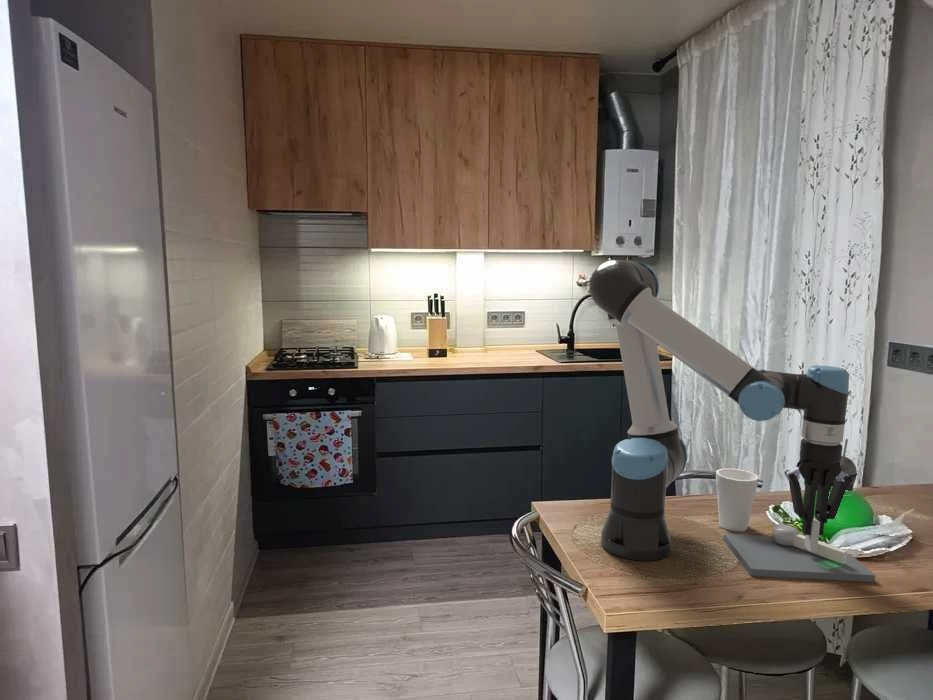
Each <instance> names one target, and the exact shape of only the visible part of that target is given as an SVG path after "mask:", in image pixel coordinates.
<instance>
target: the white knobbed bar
mask: <svg viewBox="0 0 933 700" xmlns="http://www.w3.org/2000/svg"><path fill="white" fill-rule="evenodd" d="M771 533H772V534H771V536H772V540H773V541H774V542H776V543H779V544H782V545H787V546H796V547H798V548H801V549H804V550H806V551H809V550H808V549H807V548H806V547H805V536H806V535H805V534H804V535H803V534H800V533H799V530H798V529H797V528H796V527H794V526H791V525H788V524H781V523H780V524H779V523H777V524H774V525H772V532H771ZM809 552H810V551H809ZM847 552H848V550H846V549H845V550H843V549H840V548H838V547H835V546H832V545H829V544H826V543H823V542H821V541H818V548H817V552H812V553H815V554H817V555H820V556H823V557H825V558H828V559H831V560H833V561H836V562H839V563H841V564H843V563H845V562H846V557H847Z"/></svg>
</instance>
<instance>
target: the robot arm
mask: <svg viewBox="0 0 933 700" xmlns="http://www.w3.org/2000/svg"><path fill="white" fill-rule="evenodd" d="M588 288H589V293H590V297H591V298H592V301H593V303H595V304H596V305H597V306H598V307H599V308H600V309H601V310H603V311H604V312H605V313H607V318H608V319H607V320H608V321H609V323H611V324H612V325H614V326H615V327H616V332H617V333H616V334H617V338H618V339H617V340H618V346H619V350H620V356H621V363H622V368H623V369H622V370H623V375H624V380H625V387H626V392H627V399H628V403H629V410H630V415H631V416H630V417H631V423H632V424H631V426H630V428H629V429H628V430H627V437H628V438H626V439H623V440H621V441H619V442H617V443H616V445H615V446H614V449H613V450H612V456H611V480H610V481H611V486H610V487H611V488H610V508H609V513H608V515H607V517H606V520H605V522H604V524H603V527H602V529H601V532H600V533H601V534H600V544H601V546H602V547H603V548H604V549H605V550H606V551H608V552H609V553H611V554H613V555H615V556H617V557H620V558H623V559H627V560H632V561H633V560H634V561H641V562H642V561H644V562H645V561H646V562H647V561H648V562H649V561H656V560H663V559H664V558H666V557H668V556H669V555H670V554H671V549H672V539H671V535H670V533H669V528H668V524H667V521H666V518H665V507H666V494H667V493H666V490H667V488H668V487H669V486H670V485H671V484H672V483H673V482H674V481H675V480H676V479H678V478H679V477H680V476H681V475H682V473H683V472H684V470H685V468H686V466H687V462H688V450H687V446H686V444H685V443H684V441H683V439H681V438H680V434H679V428H678V425H677V424H676V423H675V422H673V421H671V420H670V419H671V418H670V415H669V409H668V405H667V404H668V403H667V397H666V396H667V395H666V392H665V391H666V390H665V386H664V378H663V374H662V366H661V361H660V356H659V350H658V346H660V347H661V348H663V349H664V350H665V351H667V352H668V353H669V354H670V355H671V356H673V357H675V358H676V359H678V361H680V362H681V363H682V364H684V365H685V366H687V367H688V368H690V369H691V370H692V371H693V372H695V373H696V374H698V376H700V377H701V378H703V379H704V380H706V381H707V382H709V383H710V384H711V385H713V387H715V388H716V389H718V390H719V391H721V392H722V393H723V394H724V395H726V396H727V397H729V398H730V399H731V400H732V401H734V402H735V403H737V404H738V406H739V408H740V411H741V412H742V414H743V415H744V416H745V417H747V418H748V419H751V420H753V421H758V422H764V421H765V422H766V421H769V420H771V419H774V418H775V417H776V416H778V415H780V414H781V412H782V411H783V409H790V410H796V411H799V410H800V411H803V417H802V425H801V426H802V428H801V437H802V439H801V440H800V445H799V447H800V448H799V460H798V462H797V463H796V467H795V468H793V469H791V470H789V469H786V470H785V471H784V475H785V477H786V479H787V480H788V483H789V490H790V497H791V501H792V508H793V512H794V514H796V516H798V517H799V518H801V519H802V527H801V531H802V533H803V534H804V536H805V547H806V548H807V549H808V550H809V551H810V552H817V548H818V539H819V536H820V537H822V536H823V535H824V528H825V524H827V523H828V520H835V519H836V518H835V516H836V514H837V511H838V508H839V506H840V503H841V500H842V498H843V495H844V493H845V490H846V487H847V486H848V485H849V484H850V483H851V482H852V480H853V478H852V477H851V476H849V475H847V474H846V473H844V472H842V468H841V466H840V461H841V456H843V444H841V443H843V441H844V437H845V435H844V433H845V424H846V423H845V422H846V415H847V409H848V408H847V407H848V399H849V386H850V379H849V378H850V374H849V372H848V371H847V370H846V369H844V368H843V367H837V366H830V365H829V366H828V365H811V366H808V368H807V372H806V373H802V374H800V373H790V372H783V371H774V370H766V369H756V368H755V367H753V366H752V365H750V363H748V362H747V361H745V360H744V359H742V358H741V357H740V356H738V355H737V354H735V353H734V352H732V350H729V348H727V347H726V346H724V345H723V344H721V343H720V342H719V341H717V340H715V339H714V338H713V337H711V336H710V335H708V334H707V333H705V332H704V331H703V330H701V329H700V328H699V327H697V326H696V325H694V324H693V323H692V322H690V321H689V320H688V319H686V318H684V317H683V316H682V315H681V314H679V313H677V312H676V311H674V309H672V308H670V307H669V306H668V305H666V304H665V303H663V302H662V301H661V300H659V299H658V298H657V296H658V295H659V290H660V283H659V278H658V276H657V274H656V272H655V271H654V270H653V269H652V267H650V266H649V265H648V264H646V263H644V262H642V261H638V260H635V259H630V260H624V259H623V260H621V259H612V260H611V259H610V260H607V261H605V262H603V263H601V264H600V265H598V266H597V267H596V268H595V270H594V271H593V272H592V274H591V276H590V279H589V284H588ZM800 475H801V477H802V478H803V480H804V481H803V482H804V483H803V485H804V494H803V493H802V489H801V484H800V479H801V478H800ZM835 478H836V481H835V483H834V485H833V488H832V491H831V493H830V496H829V491H830V489H831V483H832V482H833V480H834V479H835ZM828 496H829V499H828Z"/></svg>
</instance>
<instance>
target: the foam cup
mask: <svg viewBox="0 0 933 700" xmlns="http://www.w3.org/2000/svg"><path fill="white" fill-rule="evenodd" d="M715 471H716V473H715V483H716V494H717V495H716V499H717V512H718V513H717V514H718V523H719V524H718V525H719V526H720V527H721V528H723V529H725V530H726V531H727V530H728V531H732V532H745V531H747V530H748V527H749V523H750V519H751V514H752V509H753V507H754V506H753V505H754V502H755V497H756V492H757V489H758V485H759V476H758V475H757V474H755V473H754V472H752V471H748V470H745V469H744V470H743V469H738V468H730V467H727V468H720V469H717V470H715Z"/></svg>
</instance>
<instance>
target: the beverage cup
mask: <svg viewBox="0 0 933 700" xmlns="http://www.w3.org/2000/svg"><path fill="white" fill-rule="evenodd" d="M844 440H845V442H844V446H843V450H842V456H841V461H840V466H841V468H842V472H844V473H846V474H847V475H849V476H851V477H852V478H853V480H852V482H851V483H850V484H849V485H848V486H847V487H846V490H848V491H852V492H853V489H854V485H855V483H856V481H857V480H856V479H857V476H858V473H857V471H858V469H857V467H856V464H855V463H854V461H853V460H852V459H850V458H849V457H847V456H846V452H847V448H848V441H849V439H848V438H845V439H844ZM835 481H836V478H835V479H834V480H833V482H832V483H831V486H833V485H834V483H835Z"/></svg>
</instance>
